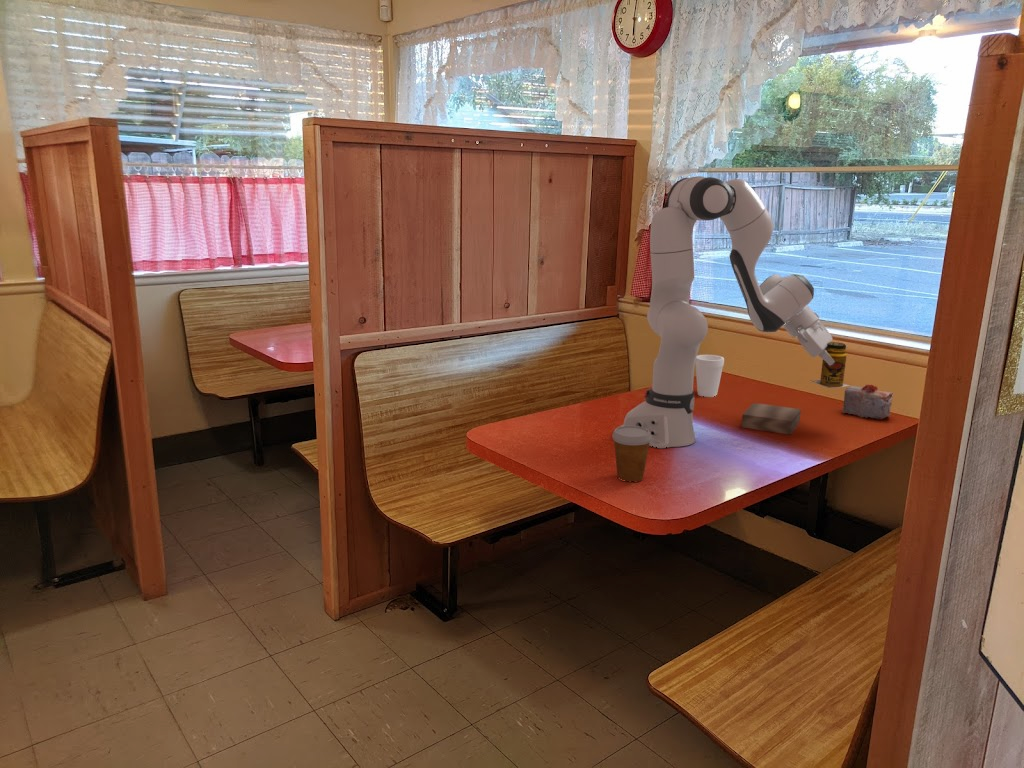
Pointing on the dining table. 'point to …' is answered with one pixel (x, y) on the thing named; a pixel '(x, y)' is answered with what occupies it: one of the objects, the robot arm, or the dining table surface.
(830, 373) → the condiment
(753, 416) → the base
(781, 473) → the dining table surface
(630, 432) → the disposable coffee cup
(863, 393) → the food item
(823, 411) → the dining table surface
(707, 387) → the foam cup
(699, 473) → the dining table surface
